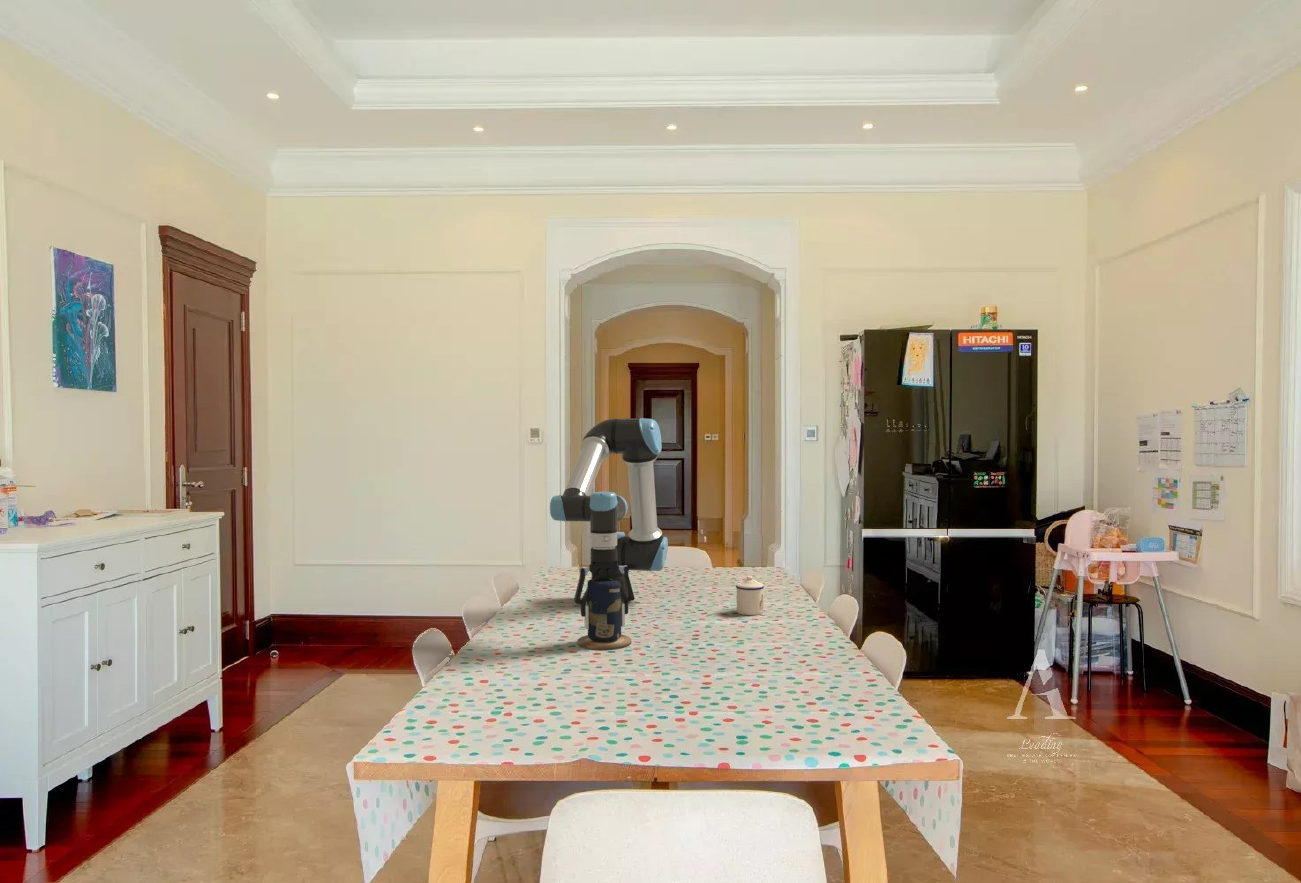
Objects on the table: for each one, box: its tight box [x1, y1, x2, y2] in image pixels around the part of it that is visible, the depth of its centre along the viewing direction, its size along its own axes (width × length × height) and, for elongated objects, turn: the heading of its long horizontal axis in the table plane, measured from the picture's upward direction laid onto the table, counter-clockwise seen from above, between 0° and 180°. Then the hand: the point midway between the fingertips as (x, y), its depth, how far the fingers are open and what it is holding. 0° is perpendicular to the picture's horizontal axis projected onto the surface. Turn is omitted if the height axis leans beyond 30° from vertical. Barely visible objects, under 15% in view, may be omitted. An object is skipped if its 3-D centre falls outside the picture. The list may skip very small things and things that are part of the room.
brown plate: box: [577, 633, 632, 651], centre depth 235 cm, size 15×15×1 cm
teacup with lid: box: [735, 575, 765, 616], centre depth 272 cm, size 12×9×12 cm
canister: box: [586, 577, 622, 642], centre depth 235 cm, size 10×10×18 cm
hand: (604, 626), depth 235 cm, fingers closed on canister, 9 cm apart
